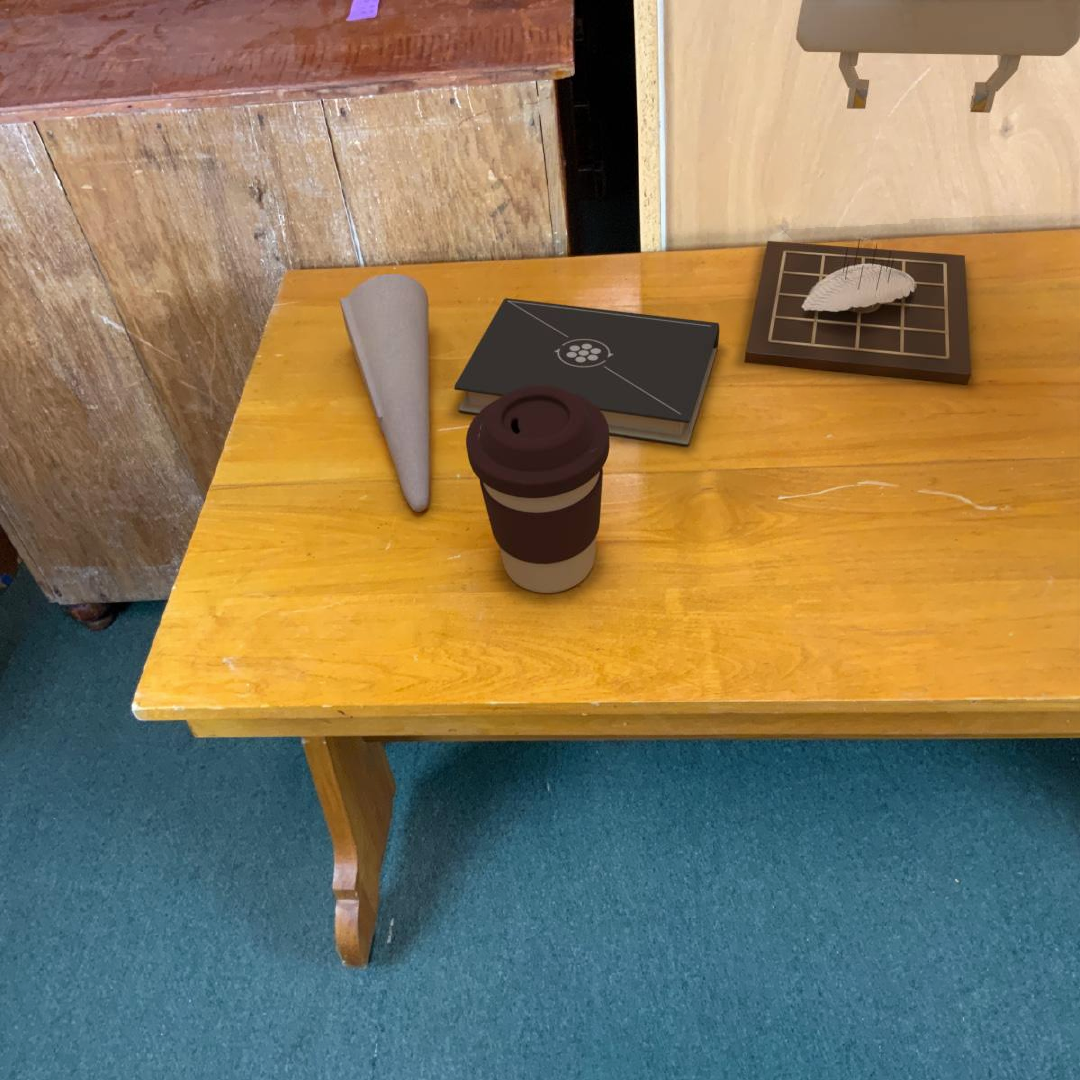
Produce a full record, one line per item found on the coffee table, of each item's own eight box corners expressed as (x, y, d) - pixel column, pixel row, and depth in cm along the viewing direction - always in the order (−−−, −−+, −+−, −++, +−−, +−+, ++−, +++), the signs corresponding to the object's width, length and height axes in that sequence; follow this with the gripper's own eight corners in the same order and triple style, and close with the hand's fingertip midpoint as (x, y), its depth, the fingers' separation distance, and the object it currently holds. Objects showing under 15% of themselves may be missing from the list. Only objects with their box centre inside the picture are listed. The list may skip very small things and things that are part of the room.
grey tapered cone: (505, 455, 78) (423, 265, 92) (402, 483, 76) (335, 284, 91) (509, 514, 84) (431, 327, 98) (413, 540, 82) (349, 346, 97)
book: (718, 347, 93) (720, 321, 91) (688, 447, 83) (690, 421, 81) (507, 321, 98) (505, 295, 96) (457, 412, 89) (453, 387, 87)
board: (961, 265, 99) (965, 253, 98) (967, 384, 86) (971, 373, 86) (766, 250, 104) (767, 239, 103) (744, 362, 91) (745, 350, 90)
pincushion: (816, 331, 91) (825, 279, 87) (788, 297, 95) (795, 246, 91) (930, 304, 93) (944, 252, 89) (898, 272, 97) (910, 221, 93)
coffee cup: (631, 535, 77) (631, 388, 66) (580, 626, 71) (570, 481, 60) (522, 502, 80) (504, 357, 69) (464, 586, 75) (435, 442, 63)
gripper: (801, -77, 67) (781, 120, 77) (1122, -81, 62) (1056, 129, 73) (808, -102, 71) (788, 88, 81) (1110, -108, 67) (1049, 95, 77)
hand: (916, 108), depth 77 cm, fingers open, 8 cm apart
